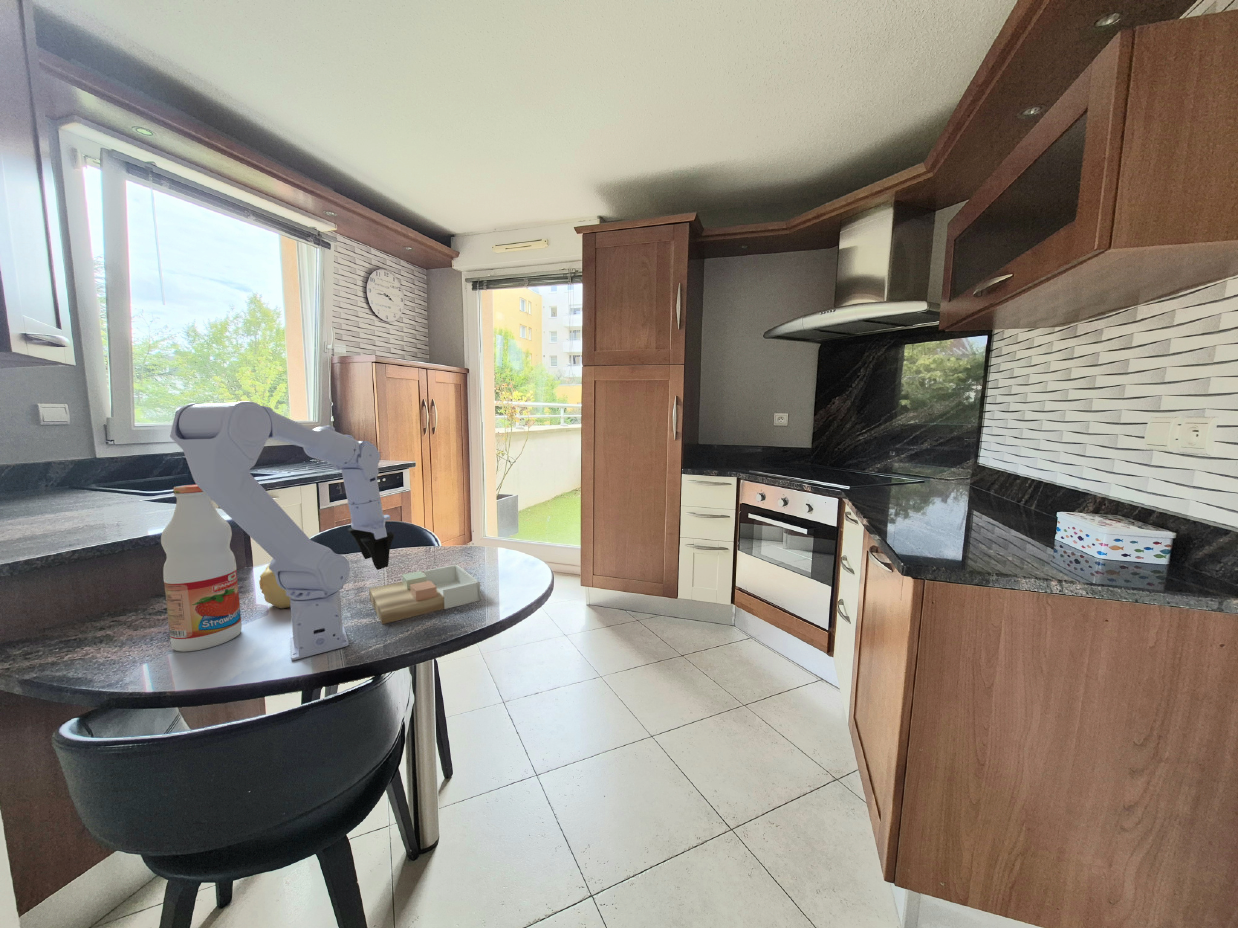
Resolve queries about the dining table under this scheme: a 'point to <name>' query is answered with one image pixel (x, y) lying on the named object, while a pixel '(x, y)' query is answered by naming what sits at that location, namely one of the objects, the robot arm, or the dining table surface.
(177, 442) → the robot arm
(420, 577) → the tile
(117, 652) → the dining table surface
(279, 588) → the sculpture
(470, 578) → the tray
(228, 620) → the fruit juice
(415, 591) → the tile
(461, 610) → the dining table surface
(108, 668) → the dining table surface
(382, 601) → the board
